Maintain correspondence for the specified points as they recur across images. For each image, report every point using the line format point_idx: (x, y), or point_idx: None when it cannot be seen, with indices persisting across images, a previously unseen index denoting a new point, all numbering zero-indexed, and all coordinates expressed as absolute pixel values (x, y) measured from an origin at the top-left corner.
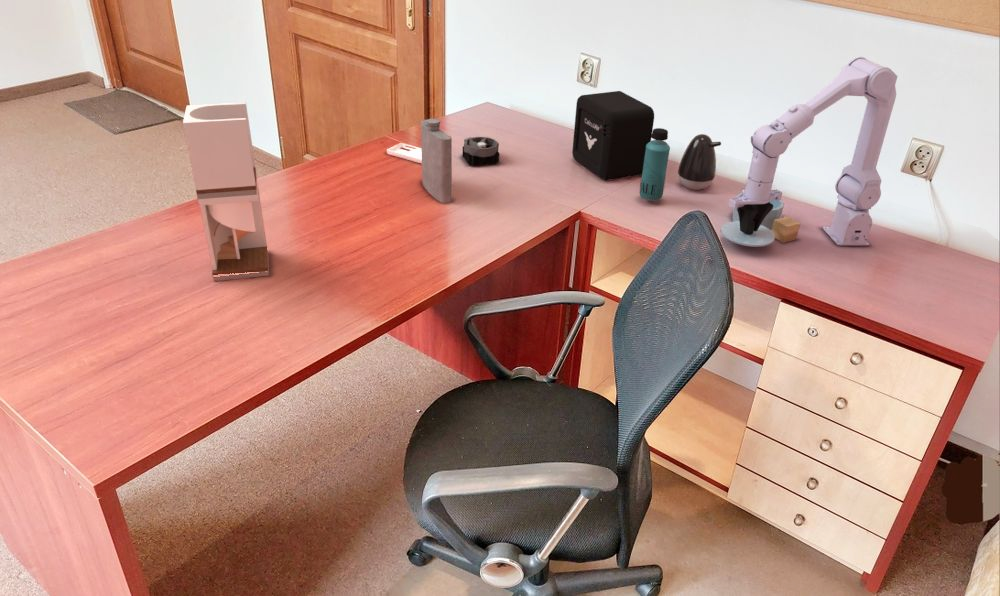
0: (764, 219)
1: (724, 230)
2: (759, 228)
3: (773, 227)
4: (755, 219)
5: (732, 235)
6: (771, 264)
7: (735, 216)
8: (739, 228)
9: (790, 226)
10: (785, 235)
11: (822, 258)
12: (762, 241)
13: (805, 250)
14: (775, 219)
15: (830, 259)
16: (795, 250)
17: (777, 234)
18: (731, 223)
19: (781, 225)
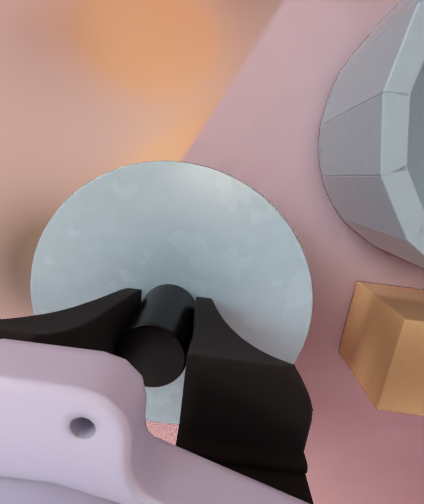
0: (394, 251)
1: (66, 227)
2: (265, 310)
3: (376, 306)
4: (173, 376)
5: (67, 289)
6: (150, 424)
7: (348, 69)
8: (166, 252)
9: (399, 412)
10: (356, 374)
11: (348, 484)
12: (160, 401)
13: (354, 426)
14: (413, 322)
15: (364, 500)
16: (321, 409)
17: (356, 327)
18: (173, 182)
19: (381, 368)
